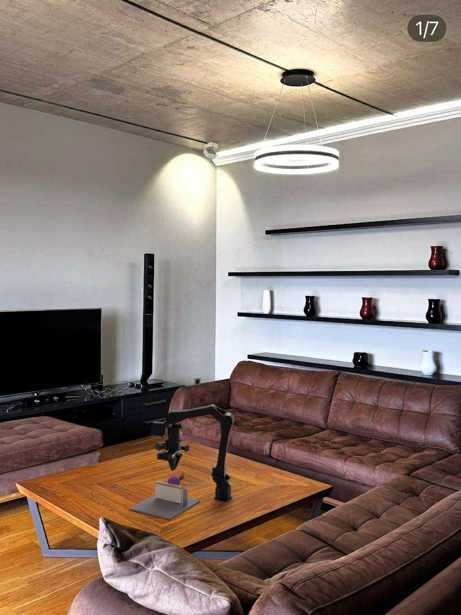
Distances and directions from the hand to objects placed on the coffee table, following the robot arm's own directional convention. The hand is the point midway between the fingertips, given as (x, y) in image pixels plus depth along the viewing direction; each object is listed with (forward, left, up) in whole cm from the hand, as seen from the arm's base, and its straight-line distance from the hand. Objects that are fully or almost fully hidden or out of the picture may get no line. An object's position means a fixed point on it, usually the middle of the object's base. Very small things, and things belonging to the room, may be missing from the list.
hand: (173, 470), depth 277 cm
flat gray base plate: (-4, +12, -12) cm, 17 cm away
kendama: (+8, -15, -12) cm, 21 cm away
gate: (-3, +8, -11) cm, 14 cm away
